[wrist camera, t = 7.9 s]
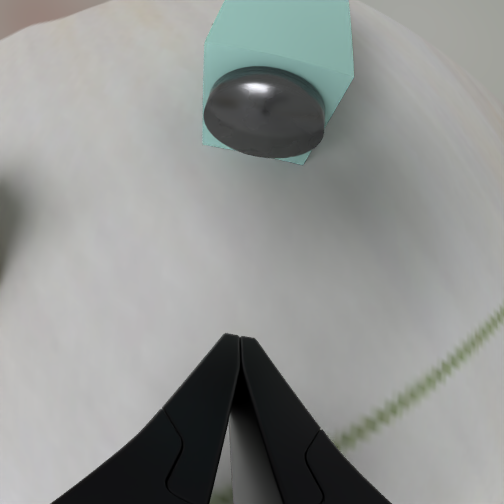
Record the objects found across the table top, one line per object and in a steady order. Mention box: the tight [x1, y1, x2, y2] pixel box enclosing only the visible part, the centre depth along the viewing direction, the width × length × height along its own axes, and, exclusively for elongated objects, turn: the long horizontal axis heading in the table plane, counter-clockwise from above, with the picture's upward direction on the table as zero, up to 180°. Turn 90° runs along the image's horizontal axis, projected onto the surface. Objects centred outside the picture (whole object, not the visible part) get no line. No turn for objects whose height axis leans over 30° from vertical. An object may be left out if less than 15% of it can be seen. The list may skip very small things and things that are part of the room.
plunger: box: [203, 66, 325, 158], centre depth 19 cm, size 12×7×7 cm, turn 170°
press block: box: [203, 0, 354, 165], centre depth 21 cm, size 12×8×10 cm, turn 170°
